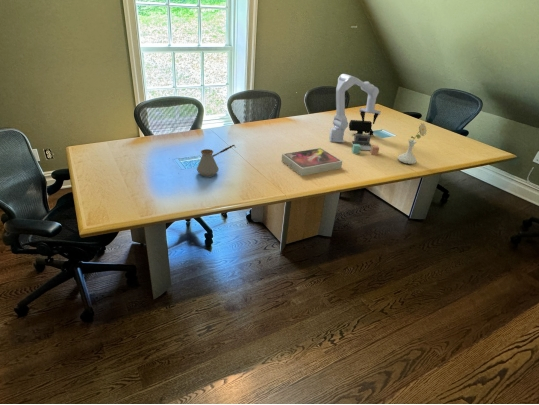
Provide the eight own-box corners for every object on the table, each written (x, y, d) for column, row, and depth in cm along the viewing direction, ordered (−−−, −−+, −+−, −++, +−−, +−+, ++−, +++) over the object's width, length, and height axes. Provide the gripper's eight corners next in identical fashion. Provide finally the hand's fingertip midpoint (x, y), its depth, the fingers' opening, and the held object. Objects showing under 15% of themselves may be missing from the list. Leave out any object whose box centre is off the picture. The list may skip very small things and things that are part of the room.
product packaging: (281, 161, 203) (282, 153, 201) (319, 155, 216) (320, 147, 213) (301, 176, 187) (302, 168, 185) (341, 168, 200) (342, 161, 197)
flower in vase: (404, 166, 207) (415, 126, 194) (393, 158, 216) (403, 120, 204) (422, 164, 211) (434, 125, 198) (410, 157, 220) (421, 119, 207)
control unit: (353, 144, 234) (354, 135, 231) (351, 141, 238) (353, 133, 235) (370, 145, 234) (372, 136, 231) (368, 143, 238) (370, 134, 235)
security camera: (373, 136, 250) (376, 123, 245) (348, 135, 250) (351, 122, 245) (371, 133, 256) (374, 120, 251) (347, 132, 256) (349, 119, 251)
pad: (357, 150, 225) (357, 149, 225) (355, 145, 232) (355, 144, 232) (372, 151, 225) (372, 150, 225) (369, 146, 232) (369, 145, 232)
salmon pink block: (371, 154, 220) (373, 147, 218) (370, 152, 224) (371, 145, 221) (377, 155, 220) (379, 147, 218) (376, 152, 224) (377, 145, 221)
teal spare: (353, 153, 220) (354, 146, 218) (351, 150, 224) (353, 143, 221) (359, 153, 220) (360, 146, 218) (357, 151, 224) (359, 144, 221)
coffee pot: (200, 179, 176) (198, 153, 168) (194, 170, 185) (193, 144, 177) (238, 174, 184) (239, 148, 177) (231, 165, 193) (231, 140, 185)
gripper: (382, 103, 236) (379, 122, 244) (362, 101, 242) (360, 119, 250) (380, 106, 231) (377, 125, 239) (359, 103, 237) (357, 122, 245)
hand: (368, 122), depth 244 cm, fingers open, 7 cm apart
